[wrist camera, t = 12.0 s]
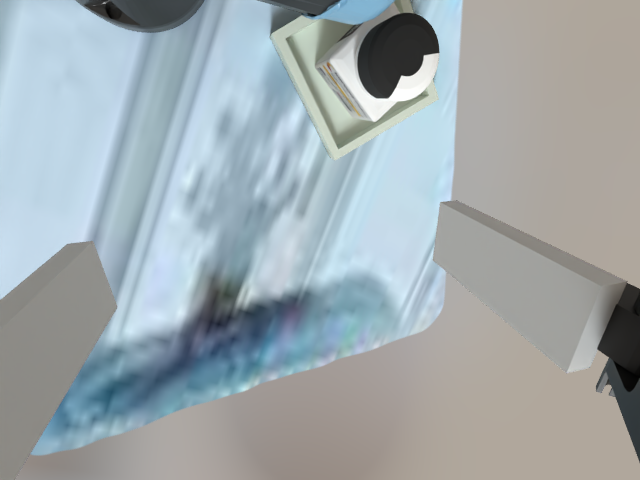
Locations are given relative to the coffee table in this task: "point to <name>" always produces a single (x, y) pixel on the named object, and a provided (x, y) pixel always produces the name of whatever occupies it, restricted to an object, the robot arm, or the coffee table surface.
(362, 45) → the container
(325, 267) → the coffee table surface
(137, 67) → the coffee table surface
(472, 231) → the robot arm
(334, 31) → the parts tray
